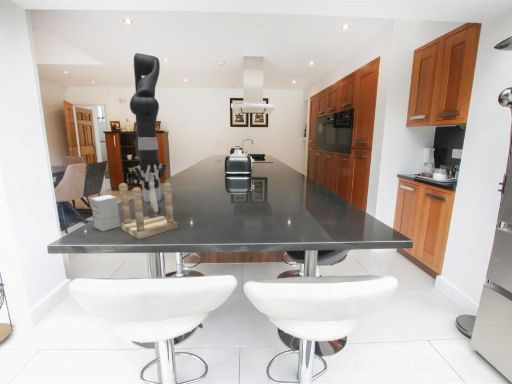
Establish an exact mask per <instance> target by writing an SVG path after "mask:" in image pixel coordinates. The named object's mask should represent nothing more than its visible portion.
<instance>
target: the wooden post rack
mask: <svg viewBox="0 0 512 384" xmlns="http://www.w3.org/2000/svg"><path fill="white" fill-rule="evenodd" d="M162 188H163V191H164V203H165V214H166V215H165V216H164V207H162V206H159V205H158V210H159V211H157V213H156V214H154V212H153V209H152V208H147V216H144V211H143V209H144V208H143V201H142V195H143V189H141V188H140V187H138V186H137V187H134V188H132V190H131V194H132V196H133V205H134V206H133V207H134V215H135V217H134V218H135V219H132V218H131V211H130V202H129V201H130V199H129V192H128V189H129V184H127V183H125V182H122V183H119V184H118V191H119V193H120V194H119V195H120V199H121V201H120V203H121V210H122V219H123V222H122V221H121V222H120V229H121V230H122V231H124V232H126V233H128V234H129V235H131V236H132V237H134V238H136V239H138V240H141V239H145V238H149V237H152V236H154V235H158V234H162V233H165V232H169V231H173V230H176V229H178V227H179V226H178V221H176V220H174V208H173V195H172V189H173V184H172V183H171V182H165V183H164V184H163V185H162Z"/></svg>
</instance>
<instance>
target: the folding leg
mask: <svg viewBox="0 0 512 384" xmlns="http://www.w3.org/2000/svg"><path fill="white" fill-rule="evenodd" d="M148 182H149V190H148V191H149V196H150V202H149V203H150V207H151V209H153V213H156V212H157V213H158V211H159V210H158V206H159V205H158V201H157V199H156V193H155V187H154V184H155V182H154V180H153V179H148Z"/></svg>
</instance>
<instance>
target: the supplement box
mask: <svg viewBox="0 0 512 384" xmlns="http://www.w3.org/2000/svg"><path fill="white" fill-rule="evenodd" d="M90 204H91V210H92V216H93V217H92V218H93V225H94V228H95V229H97V230H99V231H101V232H106V231H109V230H111V229H112V230H113V229H117V228H121V224H120V223H121V221H120V212H119V211H120V210H119V204H118V198H117V197H116V196H114V195H110V194H105V195H101V196H99V195H98V196H95V197H91V198H90Z"/></svg>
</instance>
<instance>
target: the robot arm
mask: <svg viewBox="0 0 512 384" xmlns="http://www.w3.org/2000/svg"><path fill="white" fill-rule="evenodd" d="M160 67H161V65H160V60H159V58H158V57H157V56H154V55H150V54H143V53H140V52H139V53H138V52H136V53H135V54H134V56H133V72H134V85H135V86H134V88H135V93H134V94H133V95H132V96H131V99H130V102H129V109H130V111H131V113H132V114H133V115H134V116H135V127H136V129H135V132H136V133H135V147H134V148H135V154H136V156H137V157H136V158H138V160H139V163H138V165H137V166H133V167H132V170H133V172H134V174H135V176H136V178H137V180H139V181H141V185H142V186H141V187H142V198H143V202H145V203H151V202H150V196H149V191H148V190H149V182H148V179H153V180H154V182H155V184H154V187H155V193H156V199H157V202H160V201H161V200H162V197H161V196H162V194H161V184H160V183H161V182H160V179H162V178H163V177H164V175H165V170H166V164H164V163H160V161H159V145H158V140H157V139H158V138H157V118H158V115H159V114H158V113H159V109H160V105H159V101H158V100H157V99H156V98H155V97H156V96H155V95H156V86H157V83H158V80H159V76H160V72H161V71H160Z"/></svg>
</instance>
